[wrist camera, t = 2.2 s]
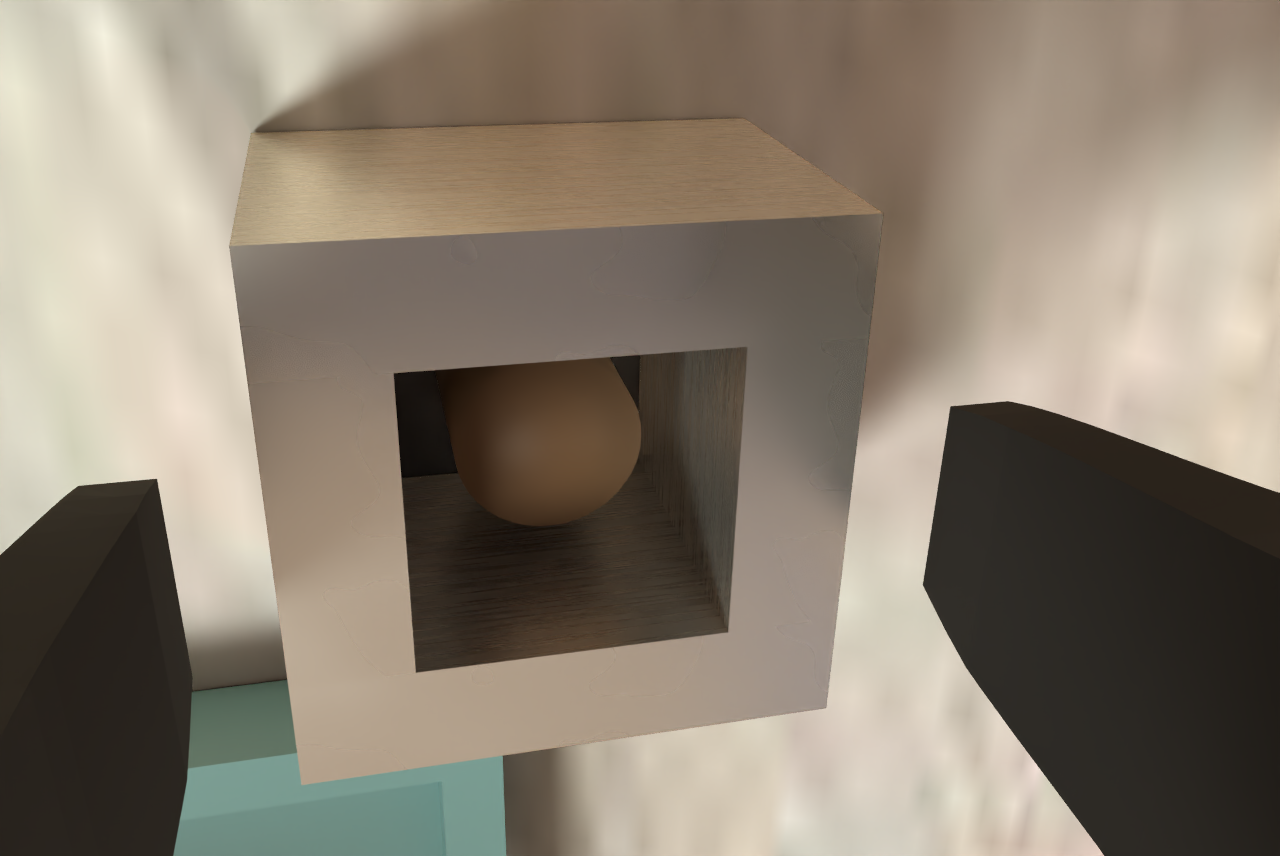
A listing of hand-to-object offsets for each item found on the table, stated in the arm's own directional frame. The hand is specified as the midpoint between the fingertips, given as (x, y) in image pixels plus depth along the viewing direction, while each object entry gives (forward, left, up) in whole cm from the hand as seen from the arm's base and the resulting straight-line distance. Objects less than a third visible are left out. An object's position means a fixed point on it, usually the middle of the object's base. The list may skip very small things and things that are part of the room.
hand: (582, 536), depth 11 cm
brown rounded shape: (0, 0, -5) cm, 5 cm away
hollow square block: (0, 0, -5) cm, 5 cm away
